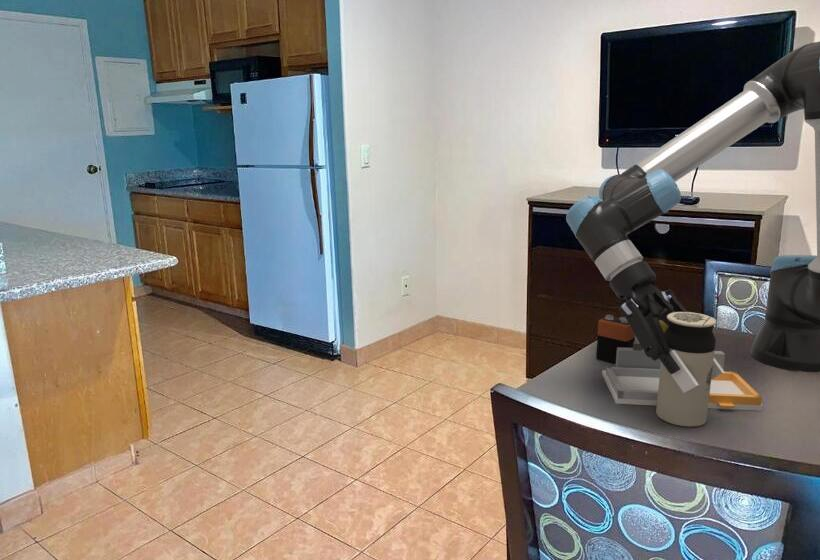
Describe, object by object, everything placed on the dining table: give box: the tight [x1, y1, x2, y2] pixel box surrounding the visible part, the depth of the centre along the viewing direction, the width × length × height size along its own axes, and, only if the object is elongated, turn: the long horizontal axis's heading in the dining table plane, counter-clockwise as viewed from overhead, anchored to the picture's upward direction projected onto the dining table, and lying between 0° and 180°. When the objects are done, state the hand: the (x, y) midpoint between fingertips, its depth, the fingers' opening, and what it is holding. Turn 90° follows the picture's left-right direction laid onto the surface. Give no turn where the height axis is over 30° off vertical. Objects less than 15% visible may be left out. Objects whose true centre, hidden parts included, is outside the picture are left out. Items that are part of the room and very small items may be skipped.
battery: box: [595, 314, 636, 365], centre depth 130 cm, size 4×7×10 cm, turn 46°
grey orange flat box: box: [601, 341, 764, 412], centre depth 113 cm, size 25×15×7 cm, turn 82°
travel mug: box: [655, 311, 717, 428], centre depth 102 cm, size 8×8×18 cm
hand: (704, 382), depth 100 cm, fingers closed on travel mug, 8 cm apart
